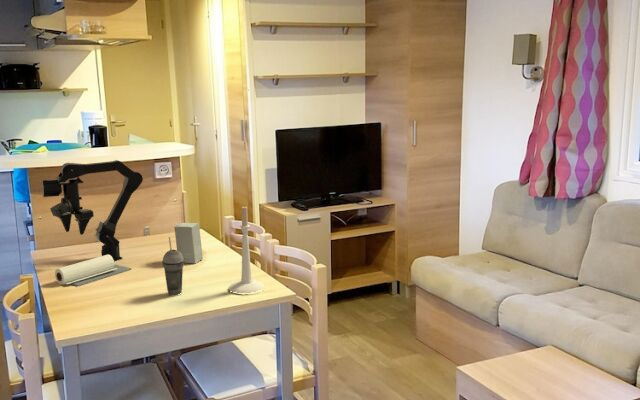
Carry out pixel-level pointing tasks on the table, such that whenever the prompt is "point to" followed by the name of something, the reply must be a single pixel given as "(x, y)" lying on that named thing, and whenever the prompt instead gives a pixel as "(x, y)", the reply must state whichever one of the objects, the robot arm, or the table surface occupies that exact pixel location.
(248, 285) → the candlestick
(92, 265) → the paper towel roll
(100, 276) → the gray mat
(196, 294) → the table surface
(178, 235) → the skincare box
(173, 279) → the beverage cup
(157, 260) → the table surface
